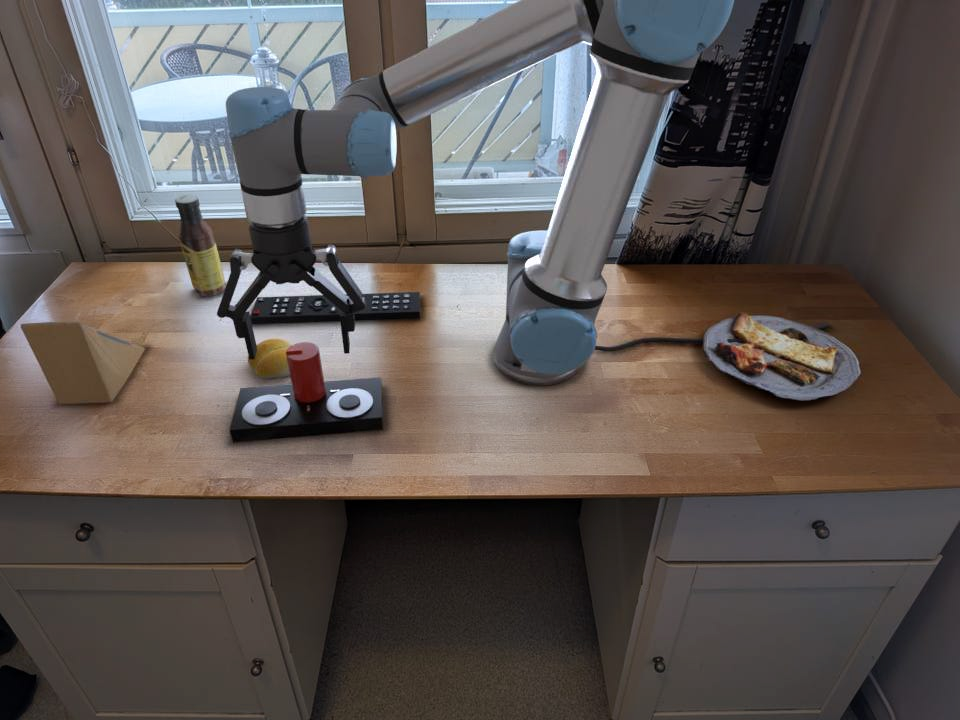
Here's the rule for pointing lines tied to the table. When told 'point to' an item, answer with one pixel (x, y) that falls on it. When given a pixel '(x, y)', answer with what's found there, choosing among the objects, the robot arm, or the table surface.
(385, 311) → the remote control
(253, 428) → the hob
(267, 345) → the bread roll
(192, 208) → the sauce bottle
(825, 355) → the food plate
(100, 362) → the sandwich container
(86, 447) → the table surface
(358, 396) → the burner rings
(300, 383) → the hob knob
